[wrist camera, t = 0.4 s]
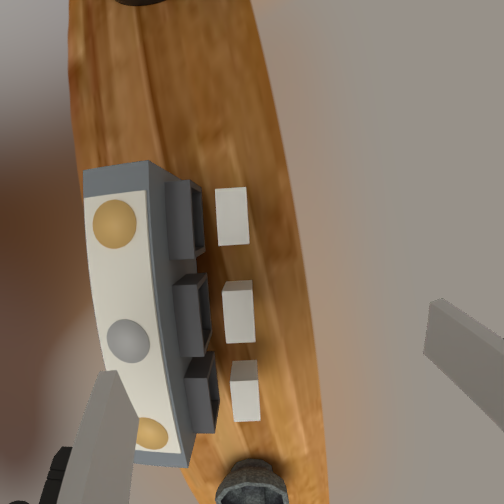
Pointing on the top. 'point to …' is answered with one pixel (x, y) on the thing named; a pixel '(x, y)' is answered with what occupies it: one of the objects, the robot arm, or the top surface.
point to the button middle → (238, 311)
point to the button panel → (153, 303)
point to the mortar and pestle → (252, 485)
